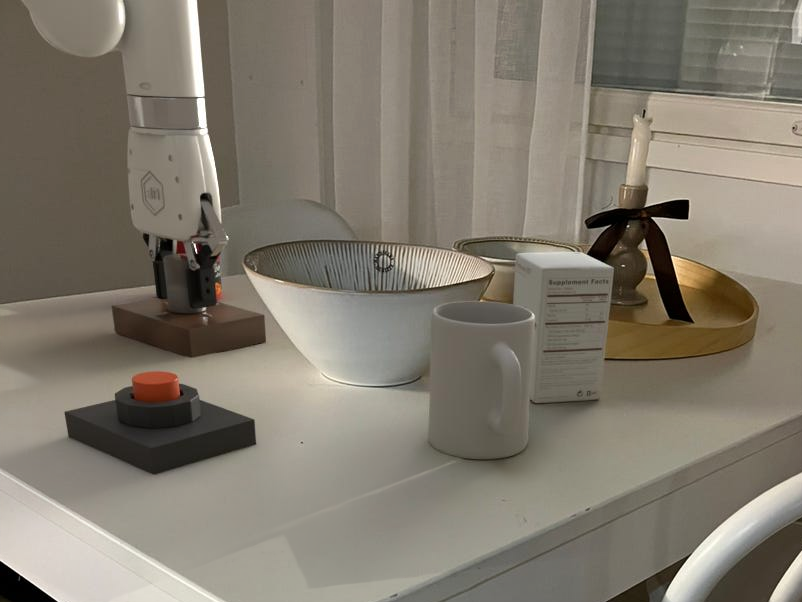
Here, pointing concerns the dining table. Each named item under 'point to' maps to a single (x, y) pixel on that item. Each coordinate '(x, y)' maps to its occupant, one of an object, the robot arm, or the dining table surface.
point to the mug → (480, 378)
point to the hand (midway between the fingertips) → (186, 300)
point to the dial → (178, 284)
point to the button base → (160, 430)
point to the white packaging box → (565, 322)
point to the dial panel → (189, 327)
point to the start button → (155, 386)
